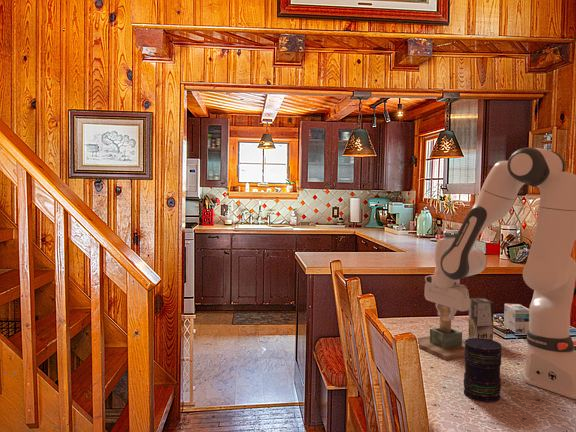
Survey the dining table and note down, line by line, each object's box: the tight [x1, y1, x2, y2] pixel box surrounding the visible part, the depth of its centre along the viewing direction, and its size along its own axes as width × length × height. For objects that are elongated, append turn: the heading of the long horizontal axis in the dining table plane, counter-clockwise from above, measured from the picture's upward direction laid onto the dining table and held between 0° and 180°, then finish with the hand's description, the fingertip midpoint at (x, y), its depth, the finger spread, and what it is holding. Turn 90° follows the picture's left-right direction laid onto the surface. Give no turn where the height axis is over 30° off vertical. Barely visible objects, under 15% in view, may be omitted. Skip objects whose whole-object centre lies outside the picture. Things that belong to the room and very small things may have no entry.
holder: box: [416, 327, 465, 361], centre depth 176 cm, size 20×18×6 cm
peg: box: [439, 305, 452, 334], centre depth 176 cm, size 4×4×10 cm
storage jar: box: [463, 338, 503, 403], centre depth 135 cm, size 10×10×15 cm
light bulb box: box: [503, 303, 530, 335], centre depth 196 cm, size 11×7×11 cm, turn 179°
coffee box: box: [468, 297, 495, 341], centre depth 184 cm, size 9×6×16 cm
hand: (445, 317), depth 176 cm, fingers closed on peg, 4 cm apart
